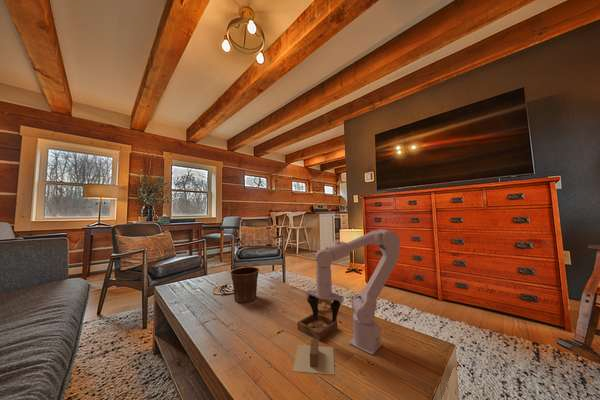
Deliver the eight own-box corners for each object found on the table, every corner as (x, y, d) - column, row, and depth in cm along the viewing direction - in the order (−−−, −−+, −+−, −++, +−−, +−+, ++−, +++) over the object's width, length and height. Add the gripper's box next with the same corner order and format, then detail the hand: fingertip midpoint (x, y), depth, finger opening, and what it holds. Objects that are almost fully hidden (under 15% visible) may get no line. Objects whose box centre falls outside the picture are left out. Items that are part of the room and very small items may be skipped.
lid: (333, 349, 78) (333, 335, 78) (334, 377, 65) (334, 360, 65) (298, 347, 79) (297, 333, 80) (292, 373, 66) (292, 357, 67)
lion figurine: (309, 314, 103) (309, 295, 103) (305, 310, 108) (304, 291, 108) (335, 309, 108) (335, 291, 108) (330, 304, 113) (330, 287, 113)
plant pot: (224, 303, 117) (224, 273, 118) (240, 292, 133) (240, 266, 134) (250, 306, 113) (250, 275, 114) (264, 294, 128) (263, 267, 129)
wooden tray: (337, 328, 90) (337, 321, 90) (319, 341, 82) (319, 333, 82) (315, 318, 99) (315, 312, 99) (297, 329, 90) (297, 322, 90)
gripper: (345, 281, 81) (347, 318, 80) (311, 276, 88) (312, 309, 87) (339, 287, 75) (340, 327, 74) (303, 281, 82) (304, 317, 81)
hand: (325, 318), depth 80 cm, fingers open, 7 cm apart
